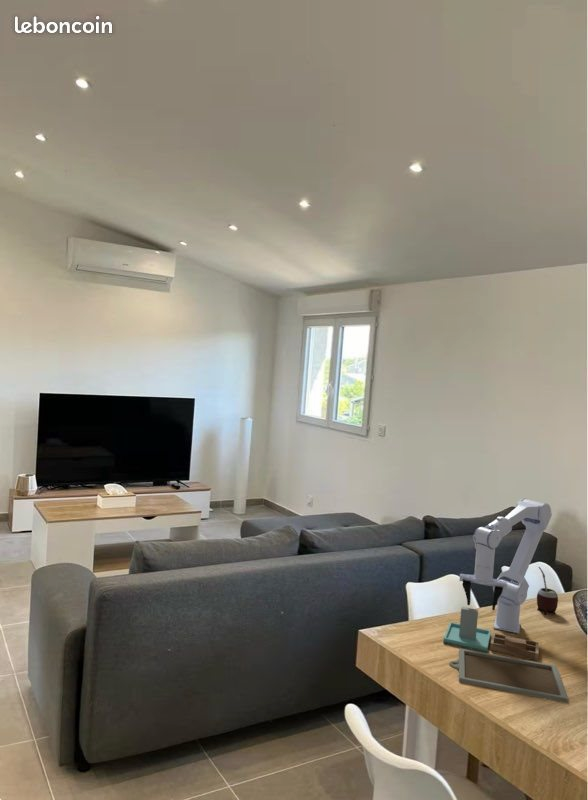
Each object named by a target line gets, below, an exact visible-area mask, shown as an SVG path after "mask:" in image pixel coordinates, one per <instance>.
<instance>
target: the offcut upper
mask: <svg viewBox="0 0 588 800" xmlns="http://www.w3.org/2000/svg"><path fill="white" fill-rule="evenodd" d="M510 637H511V636H510ZM510 637H505V640H504V644H505V645H506V646H510V647H515V648H519V649H524V650H526V640H527V639H524V640H522V639H523V638H519V639H516V638H517V637H515V638H510Z"/></svg>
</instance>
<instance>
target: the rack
mask: <svg viewBox="0 0 588 800" xmlns="http://www.w3.org/2000/svg"><path fill="white" fill-rule="evenodd" d="M505 637H510V638H516V639H520V637H519V638H518V637H515V636H514V637H513V636H511V635H510V636H509V635H504V634H499V633H496V632H492V633H491V638H490V643H489V644H490V646H489V647H490V648H489V650H490V651H493V652H498V653H501V654H506V655H509V656H510V655H511V656H515V657H518V658H519V657H520V658H524V659H526V660H527V659H528V660H531V661H535V662H538V660H539V652H540V651H539V644H540V643H539V642H538V641H537V642H536V641H533V640H529V639H528V640H527V639H523V638H521V639H522V640H526V650H524V649H519V648H515V647H510V646H506V645H505V644H504V640H505Z"/></svg>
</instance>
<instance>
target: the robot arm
mask: <svg viewBox="0 0 588 800" xmlns="http://www.w3.org/2000/svg"><path fill="white" fill-rule="evenodd" d="M552 515H553V514H552V509H551V505H550V504H549V503H546V502H545V503H544V502H541V501H538V500H537V501H536V500H532V499H528V498H521V499H520V500H518V501H517V503H516V506H515V508H514V509H512V510H511V511H510V512H509V513H508V514H506V515H505V517H504V516H497V517H496V519H494V520H493V521H491V522H490V523H488V524H487V525H485V526H480V527H477V528H476V529H475V530H474V533H473V535H472V540H473V542H474V549H475V560H474V562H475V563H474V573H473V574H465V573H459V579H458V580H459V582H462V585H461V586H462V589H463V591H464V593H465V596H466V597H465V598H466V601H467V606H470V605H471V601H472V600H471V594H472V593H471V591H472V583H473V584H477V585H483V586H489V587H492V591H493V603H492V607H491V608H492V609H491V611H495V609H496V615H495V616H496V617H495V620H494V625H493V629H496V630H500V631H505V632H509V633H514V634H520V631H521V622H520V613H521V605H522V604H524V602H525V601H527V597H528V591H529V587H530V585H529V582H528V581H527V579H526V578H525V577H526V573H527V571H528V569H529V566H530V564H531V562H532V560H533V557H534V554H535V552H536V550H537V547H538V544H539V542H540V540H541V538H542V536H543V534H544V531H545V530H547V527H548V526H549V523H550V521H551V518H552ZM520 522H521V523H522V524H523V525H524V526H525V531H524V533H523V536H522V538H521V540H520V543H519V545H518V547H517V549H516V552H515V555H514V557H513V559H512V562H511V564H510V566H509V568H508V569H507V570H504V571H502V572H500V574H499V576H498V577H497V578H494V570H495V569H494V568H495V556H496V555H495V554H496V548H498V546H499V545H500V542H501V541H502V539H503V537H506V535H508V534H509V533H511V532H512V530H513V526H514V525H516V524H518V523H520Z"/></svg>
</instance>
